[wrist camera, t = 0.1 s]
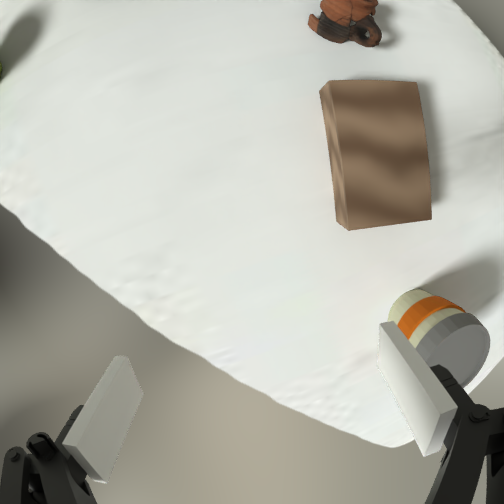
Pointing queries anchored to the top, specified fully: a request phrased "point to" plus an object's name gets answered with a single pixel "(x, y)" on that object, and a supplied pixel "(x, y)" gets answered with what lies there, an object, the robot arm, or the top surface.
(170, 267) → the top surface
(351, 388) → the top surface
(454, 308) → the reusable coffee cup
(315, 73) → the top surface
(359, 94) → the walnut box
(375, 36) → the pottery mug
